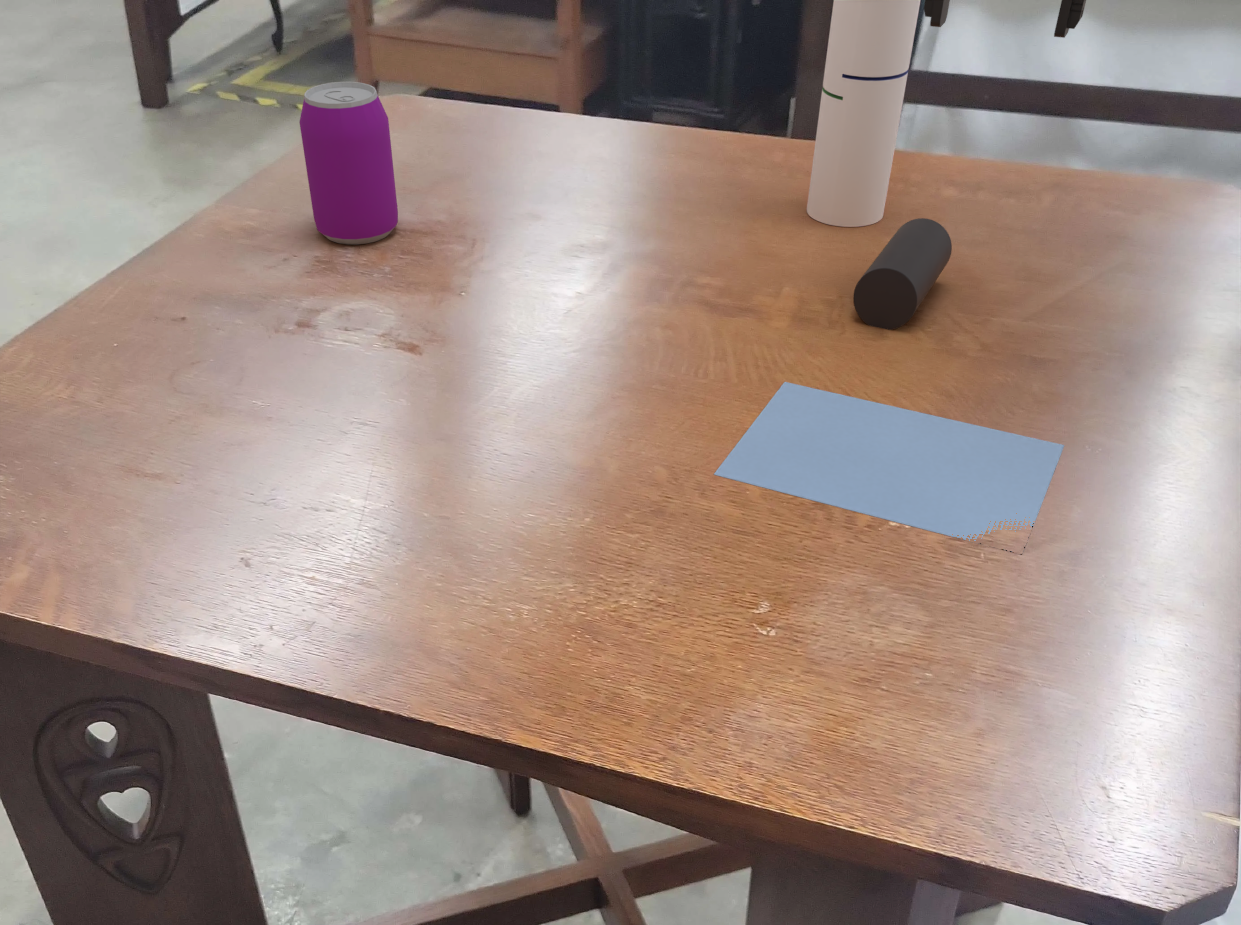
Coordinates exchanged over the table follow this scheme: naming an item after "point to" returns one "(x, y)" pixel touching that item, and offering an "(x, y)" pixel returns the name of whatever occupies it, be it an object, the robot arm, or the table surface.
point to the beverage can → (349, 162)
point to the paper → (893, 463)
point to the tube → (902, 274)
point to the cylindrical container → (860, 109)
